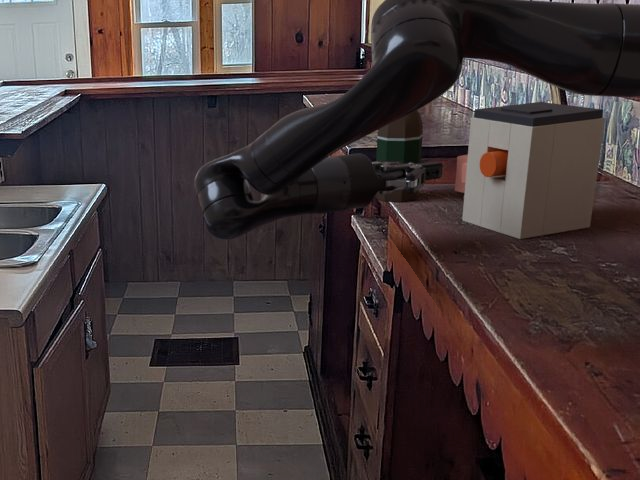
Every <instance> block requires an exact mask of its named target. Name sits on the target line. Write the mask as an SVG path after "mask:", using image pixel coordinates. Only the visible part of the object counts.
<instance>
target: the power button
mask: <svg viewBox="0 0 640 480" xmlns="http://www.w3.org/2000/svg"><path fill="white" fill-rule="evenodd" d="M507 160H508V150H502V151H495V152H487V153H485V154H483V155H482V157H481V159H480V170H481V173H482V174H483V175H484V176H485V177H494V176H501V175H506V169H507Z"/></svg>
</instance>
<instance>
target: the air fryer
mask: <svg viewBox="0 0 640 480" xmlns="http://www.w3.org/2000/svg"><path fill="white" fill-rule="evenodd" d="M603 115H604V109H601V108H595V107H586V106H578V105H570V104H561V103H555V102H554V103H552V102H545V101H536V102H528V103H517V104H512V105H501V106H493V107H483V108H475V109H474V112H473V117H470V124H469V125H470V126H469V137H468V148H467V149H468V150H467V155H468V159H467V171H466V183H465V193H464V195H463V196H464V198H463V207H462V218H461V219H462V222H465V223H469V224H471V225H475V226H476V227H477V226H478V227H481V228H483V229H487V230H489V231H492V232H496V233H499V234H503V235H506V236H508V237H512V238H515V239H518V240H523V239H529V238H534V237H541V236H547V235H552V234H558V233H565V232H570V231H577V230H581V229H589V228H591V221H592V214H593V208H594V202H595V194H596V187H597V180H598V174H599V166H600V160H601V152H602V147H603V146H602V145H603V138H604V131H605V125H606V118H605V117H603ZM502 150H508V160H507V169H506V175H501V176H494V177H485V176H484V175H483V174H482V173H481V170H480V159H481V157H482V155H483V154H485V153H487V152H495V151H502Z"/></svg>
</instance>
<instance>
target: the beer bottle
mask: <svg viewBox="0 0 640 480" xmlns="http://www.w3.org/2000/svg"><path fill="white" fill-rule="evenodd" d="M423 126H424V125H423V120H422V117H421V114H420V112H419V109H418V110H416V111H414V112H412V113H410V114H408V115H406V116H404V117H402V118H400V119H398V120H396V121H394V122H392V123H390V124H388V125H386V126H384V127H383V128H381V129H379V130H377V135H376V154H375V155H376V157H375V162H377V161H378V162H392V161H396V162H398V161H401V162H404V163H403V164H405V163H409V162H411V163H414V164H420V163H422V153H423V151H422V150H423V136H424V135H423V134H424V132H423V130H424V129H423ZM419 191H420V189H419V190H417V191H416V192H415V193H412V194H408V193H405V189H403V190H397V191H393V192H392V193H390V194H379V191H378V192H377V194H376V195H375V197H374V198H375V199H377V200H380V201H382V202H386V203H387V202H389V203H404V202H413V201H415V200H416V199H417V197H418V196H419Z"/></svg>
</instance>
